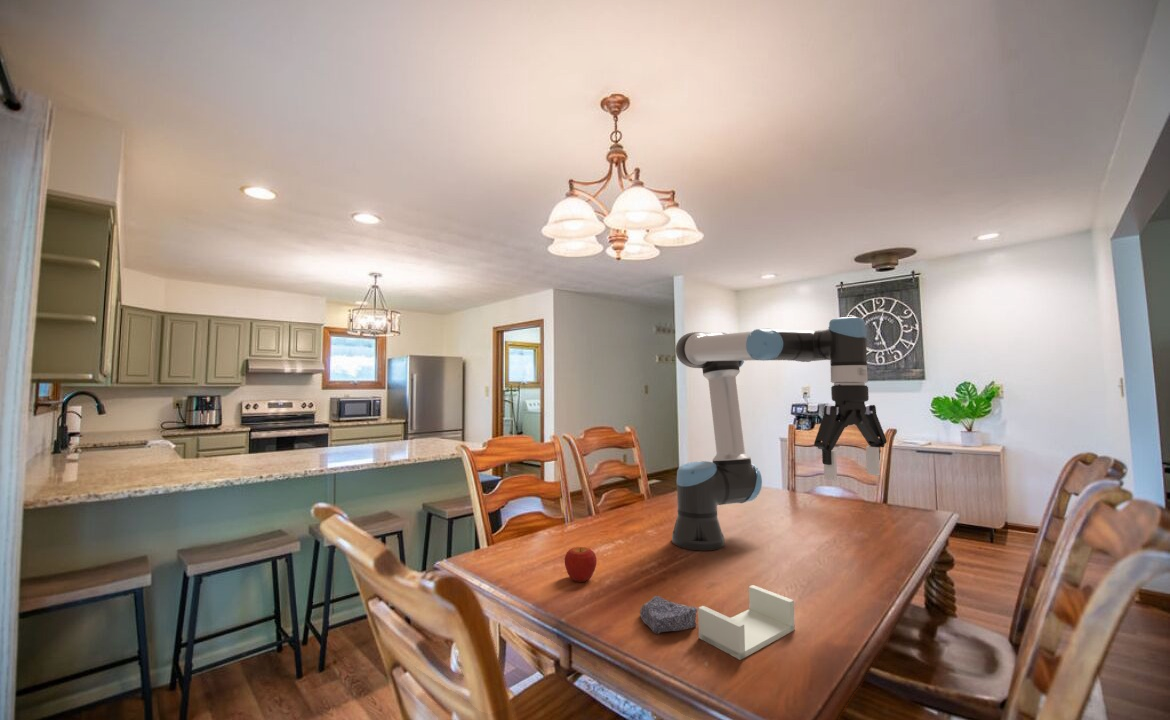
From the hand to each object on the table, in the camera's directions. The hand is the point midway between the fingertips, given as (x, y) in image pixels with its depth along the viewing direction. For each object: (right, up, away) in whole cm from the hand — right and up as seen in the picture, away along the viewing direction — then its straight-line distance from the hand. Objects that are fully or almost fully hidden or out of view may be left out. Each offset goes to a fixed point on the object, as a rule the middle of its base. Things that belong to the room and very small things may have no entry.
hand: (852, 477), depth 110 cm
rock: (-46, -26, -15) cm, 55 cm away
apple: (-63, -27, +7) cm, 68 cm away
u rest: (-31, -25, -20) cm, 44 cm away
